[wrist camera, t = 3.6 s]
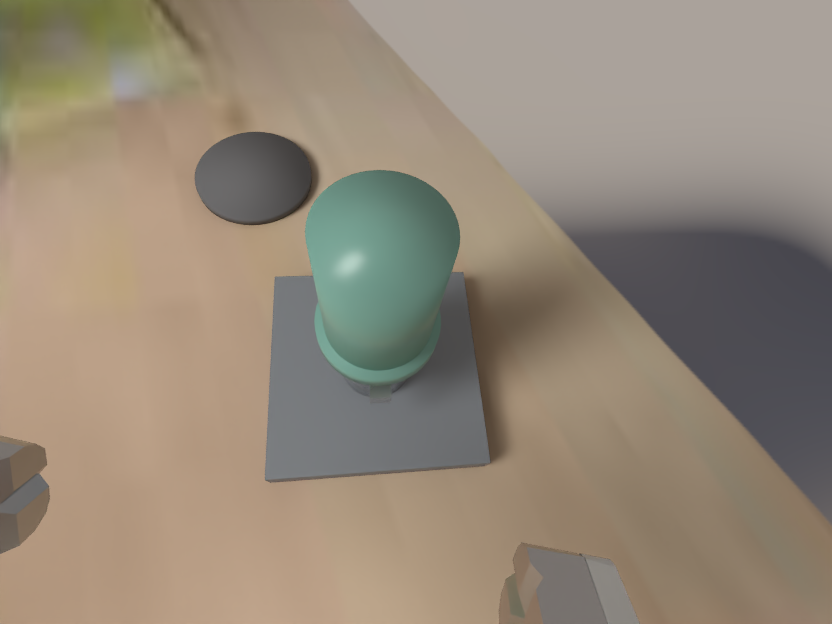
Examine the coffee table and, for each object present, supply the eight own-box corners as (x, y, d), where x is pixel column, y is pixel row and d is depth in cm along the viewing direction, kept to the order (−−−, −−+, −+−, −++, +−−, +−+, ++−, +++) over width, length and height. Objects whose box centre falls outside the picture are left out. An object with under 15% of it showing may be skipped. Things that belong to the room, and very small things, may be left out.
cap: (315, 389, 21) (289, 315, 14) (316, 275, 23) (294, 160, 16) (443, 382, 21) (483, 308, 14) (431, 273, 24) (460, 161, 17)
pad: (191, 225, 32) (188, 220, 31) (203, 137, 35) (201, 131, 34) (310, 224, 33) (310, 219, 32) (312, 138, 36) (311, 132, 35)
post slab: (270, 482, 25) (264, 479, 24) (278, 287, 30) (274, 276, 29) (484, 466, 27) (490, 462, 25) (459, 283, 32) (463, 272, 30)
